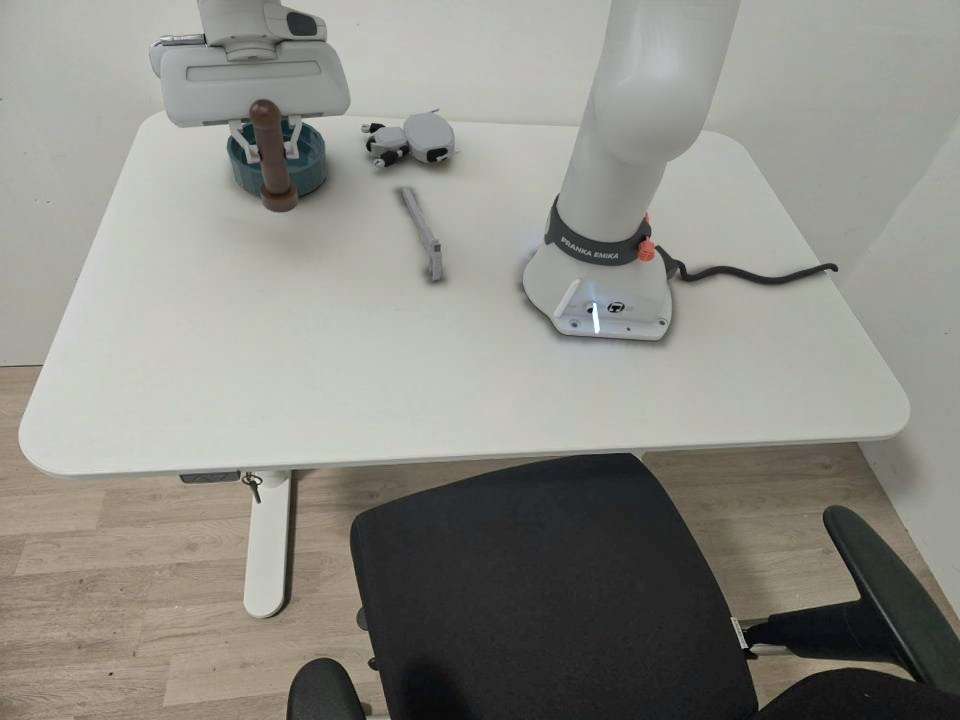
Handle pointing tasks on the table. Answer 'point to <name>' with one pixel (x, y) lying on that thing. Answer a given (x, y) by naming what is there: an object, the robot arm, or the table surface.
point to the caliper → (425, 235)
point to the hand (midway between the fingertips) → (273, 160)
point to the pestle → (272, 157)
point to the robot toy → (411, 139)
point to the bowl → (301, 171)
